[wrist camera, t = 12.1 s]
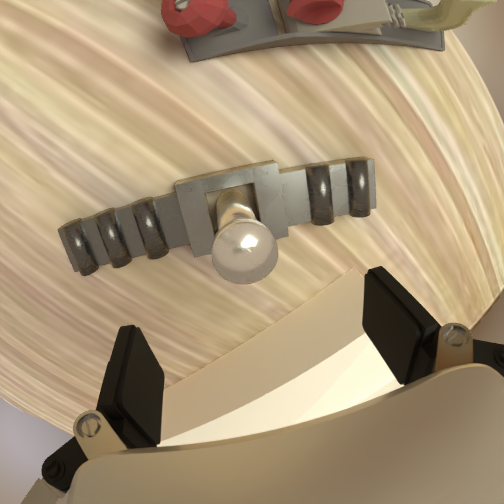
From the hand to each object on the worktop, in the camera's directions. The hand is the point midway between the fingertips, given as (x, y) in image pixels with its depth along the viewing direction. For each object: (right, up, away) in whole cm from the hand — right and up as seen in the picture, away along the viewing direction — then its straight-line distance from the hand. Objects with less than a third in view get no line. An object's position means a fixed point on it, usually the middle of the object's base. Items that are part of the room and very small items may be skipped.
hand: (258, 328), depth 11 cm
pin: (-2, +7, +16) cm, 18 cm away
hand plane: (+7, +26, +9) cm, 29 cm away
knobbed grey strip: (-4, +7, +16) cm, 18 cm away
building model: (0, -19, +30) cm, 35 cm away
